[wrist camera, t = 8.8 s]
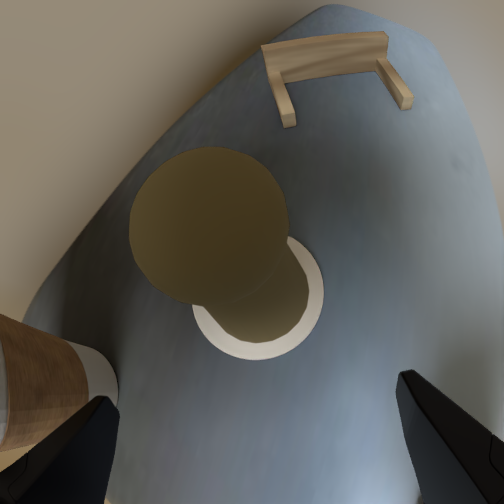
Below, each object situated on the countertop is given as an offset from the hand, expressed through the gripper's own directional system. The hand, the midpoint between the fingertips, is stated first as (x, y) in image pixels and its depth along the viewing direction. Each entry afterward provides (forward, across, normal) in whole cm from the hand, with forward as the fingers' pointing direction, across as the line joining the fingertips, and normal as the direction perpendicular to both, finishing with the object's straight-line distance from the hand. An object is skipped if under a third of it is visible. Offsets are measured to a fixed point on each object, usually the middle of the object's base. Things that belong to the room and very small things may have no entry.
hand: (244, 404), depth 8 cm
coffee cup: (+7, +13, +7) cm, 17 cm away
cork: (+10, 0, +2) cm, 11 cm away
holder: (+22, -8, -9) cm, 25 cm away
